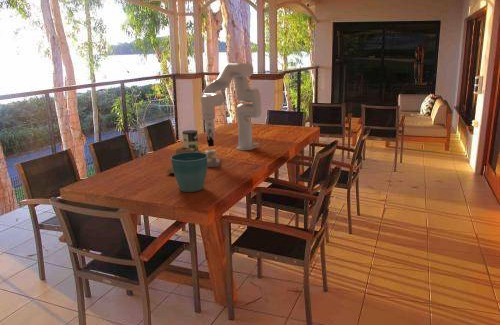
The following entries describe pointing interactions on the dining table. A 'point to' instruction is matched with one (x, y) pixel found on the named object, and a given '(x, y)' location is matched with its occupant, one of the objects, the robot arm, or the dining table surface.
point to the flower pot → (190, 170)
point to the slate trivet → (213, 163)
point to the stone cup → (178, 150)
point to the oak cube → (211, 155)
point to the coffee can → (190, 139)
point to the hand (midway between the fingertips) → (210, 144)
